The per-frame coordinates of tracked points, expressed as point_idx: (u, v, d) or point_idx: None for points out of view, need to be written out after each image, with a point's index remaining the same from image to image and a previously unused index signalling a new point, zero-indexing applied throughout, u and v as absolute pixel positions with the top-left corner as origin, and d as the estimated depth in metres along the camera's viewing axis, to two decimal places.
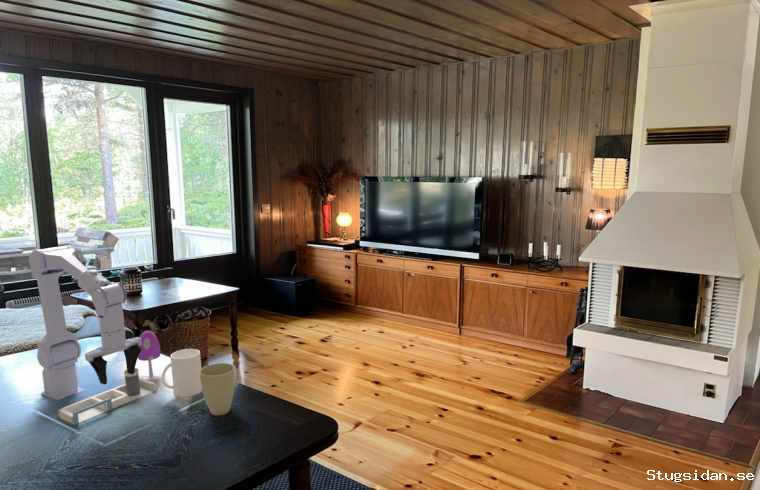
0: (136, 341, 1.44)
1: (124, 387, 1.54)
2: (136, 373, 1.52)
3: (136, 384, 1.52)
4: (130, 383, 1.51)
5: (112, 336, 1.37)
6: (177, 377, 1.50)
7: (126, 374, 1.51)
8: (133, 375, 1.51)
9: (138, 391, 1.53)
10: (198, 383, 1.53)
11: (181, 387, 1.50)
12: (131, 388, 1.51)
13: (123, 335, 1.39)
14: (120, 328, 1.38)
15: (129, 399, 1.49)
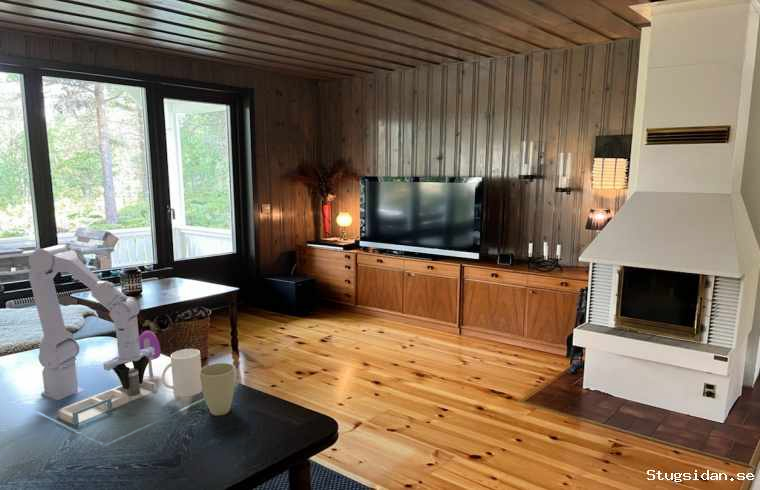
0: (149, 351, 1.56)
1: None
2: (136, 373, 1.52)
3: (136, 384, 1.52)
4: (130, 383, 1.51)
5: (128, 347, 1.49)
6: (177, 377, 1.50)
7: None
8: (133, 375, 1.51)
9: (138, 391, 1.53)
10: (198, 383, 1.53)
11: (181, 387, 1.50)
12: (131, 388, 1.51)
13: (138, 346, 1.51)
14: (138, 338, 1.51)
15: (129, 399, 1.49)
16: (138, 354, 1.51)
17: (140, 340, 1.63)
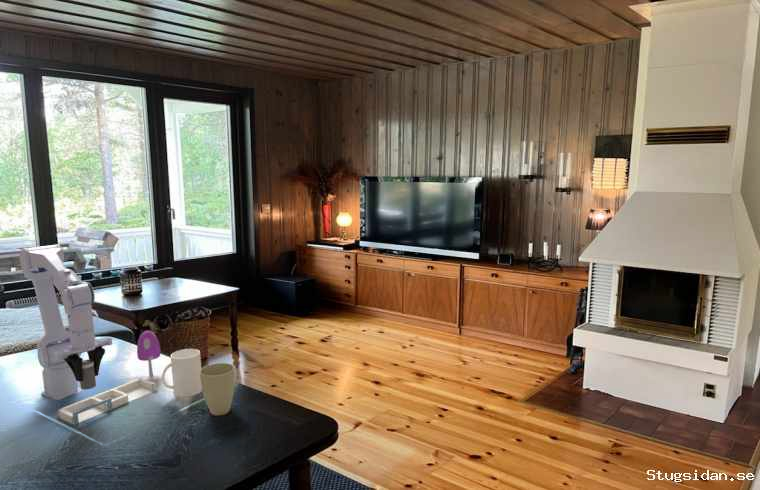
0: (106, 341, 1.44)
1: (124, 387, 1.54)
2: (91, 365, 1.41)
3: (91, 377, 1.41)
4: (84, 375, 1.40)
5: (81, 336, 1.37)
6: (177, 377, 1.50)
7: None
8: (87, 367, 1.40)
9: (93, 384, 1.41)
10: (198, 383, 1.53)
11: (181, 387, 1.50)
12: (86, 381, 1.40)
13: (92, 335, 1.40)
14: (87, 328, 1.38)
15: (129, 399, 1.49)
16: (92, 344, 1.40)
17: (140, 340, 1.63)
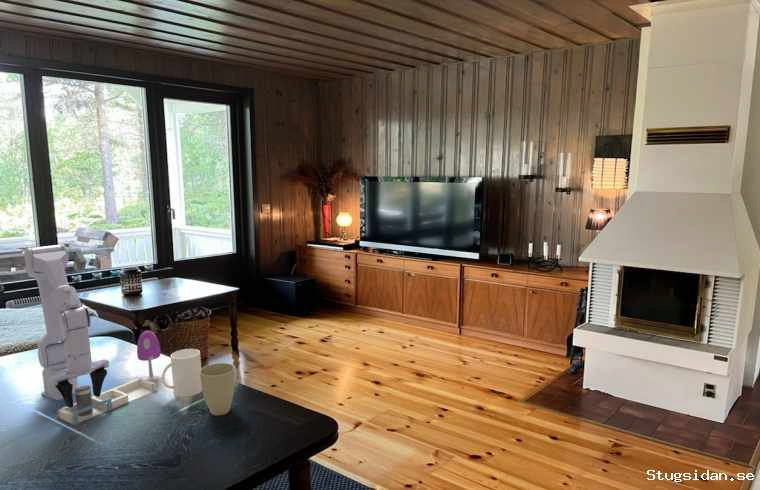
0: (103, 363, 1.44)
1: (124, 387, 1.54)
2: (88, 391, 1.40)
3: (88, 404, 1.41)
4: (80, 402, 1.40)
5: (78, 360, 1.37)
6: (177, 377, 1.50)
7: (76, 392, 1.39)
8: (84, 394, 1.40)
9: (90, 410, 1.41)
10: (198, 383, 1.53)
11: (181, 387, 1.50)
12: (82, 408, 1.40)
13: (89, 358, 1.39)
14: (82, 352, 1.37)
15: (129, 399, 1.49)
16: (89, 367, 1.39)
17: (140, 340, 1.63)
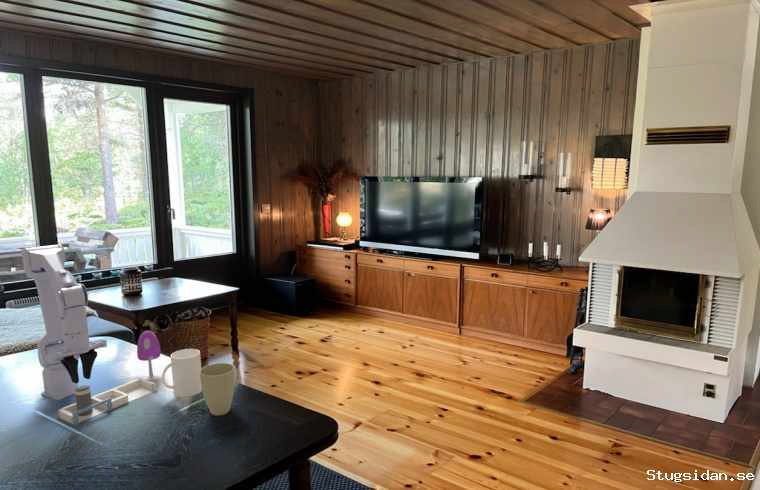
0: (100, 343, 1.43)
1: (124, 387, 1.54)
2: (87, 391, 1.40)
3: (88, 403, 1.41)
4: (80, 402, 1.40)
5: (75, 338, 1.36)
6: (177, 377, 1.50)
7: (76, 392, 1.39)
8: (84, 393, 1.40)
9: (89, 410, 1.41)
10: (198, 383, 1.53)
11: (181, 387, 1.50)
12: (82, 408, 1.40)
13: (86, 337, 1.38)
14: (80, 331, 1.36)
15: (129, 399, 1.49)
16: (86, 346, 1.38)
17: (140, 340, 1.63)
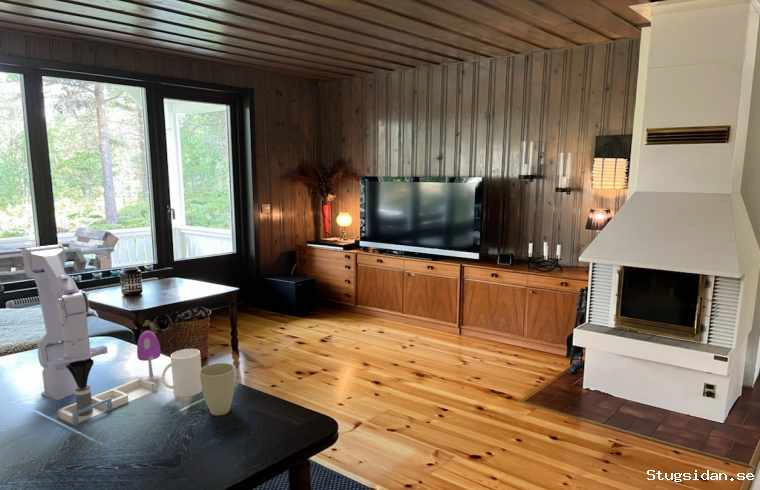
0: (101, 349, 1.43)
1: (124, 387, 1.54)
2: (88, 391, 1.40)
3: (88, 404, 1.41)
4: (80, 402, 1.40)
5: (76, 345, 1.36)
6: (177, 377, 1.50)
7: (76, 392, 1.39)
8: (84, 393, 1.40)
9: (89, 410, 1.41)
10: (198, 383, 1.53)
11: (181, 387, 1.50)
12: (82, 408, 1.40)
13: (87, 344, 1.39)
14: (81, 338, 1.37)
15: (129, 399, 1.49)
16: (87, 353, 1.39)
17: (140, 340, 1.63)
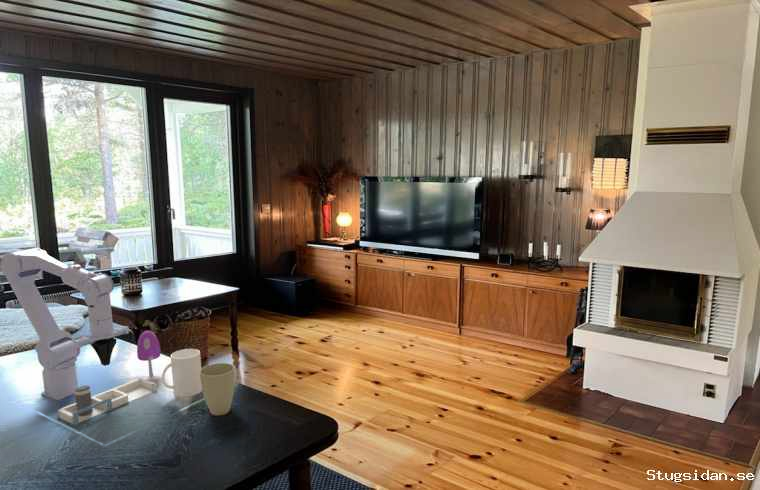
0: (123, 329, 1.52)
1: (124, 387, 1.54)
2: (87, 391, 1.40)
3: (88, 404, 1.41)
4: (80, 402, 1.39)
5: (100, 324, 1.45)
6: (177, 377, 1.50)
7: (76, 393, 1.39)
8: (83, 394, 1.39)
9: (89, 410, 1.41)
10: (198, 383, 1.53)
11: (181, 387, 1.50)
12: (82, 408, 1.40)
13: (111, 323, 1.48)
14: (109, 316, 1.47)
15: (129, 399, 1.49)
16: (111, 332, 1.48)
17: (140, 340, 1.63)
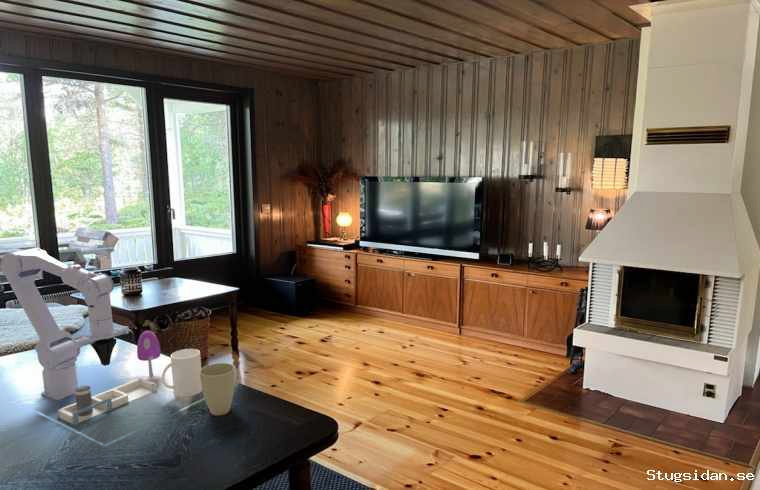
0: (123, 329, 1.52)
1: (124, 387, 1.54)
2: (87, 391, 1.40)
3: (88, 404, 1.41)
4: (80, 402, 1.39)
5: (100, 324, 1.45)
6: (177, 377, 1.50)
7: (76, 393, 1.39)
8: (84, 394, 1.39)
9: (89, 410, 1.41)
10: (198, 383, 1.53)
11: (181, 387, 1.50)
12: (82, 408, 1.40)
13: (111, 323, 1.48)
14: (109, 316, 1.47)
15: (129, 399, 1.49)
16: (111, 332, 1.48)
17: (140, 340, 1.63)
